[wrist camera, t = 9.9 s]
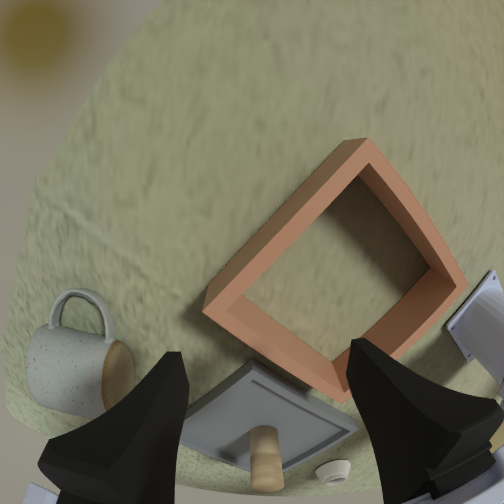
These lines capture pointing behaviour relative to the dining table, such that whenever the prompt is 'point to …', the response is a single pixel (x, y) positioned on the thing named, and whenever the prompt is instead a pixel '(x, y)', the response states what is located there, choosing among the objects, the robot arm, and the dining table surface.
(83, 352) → the ceramic mug
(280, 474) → the maple pin
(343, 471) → the white jar
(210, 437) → the slate tray
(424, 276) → the terracotta planter box
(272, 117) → the dining table surface
